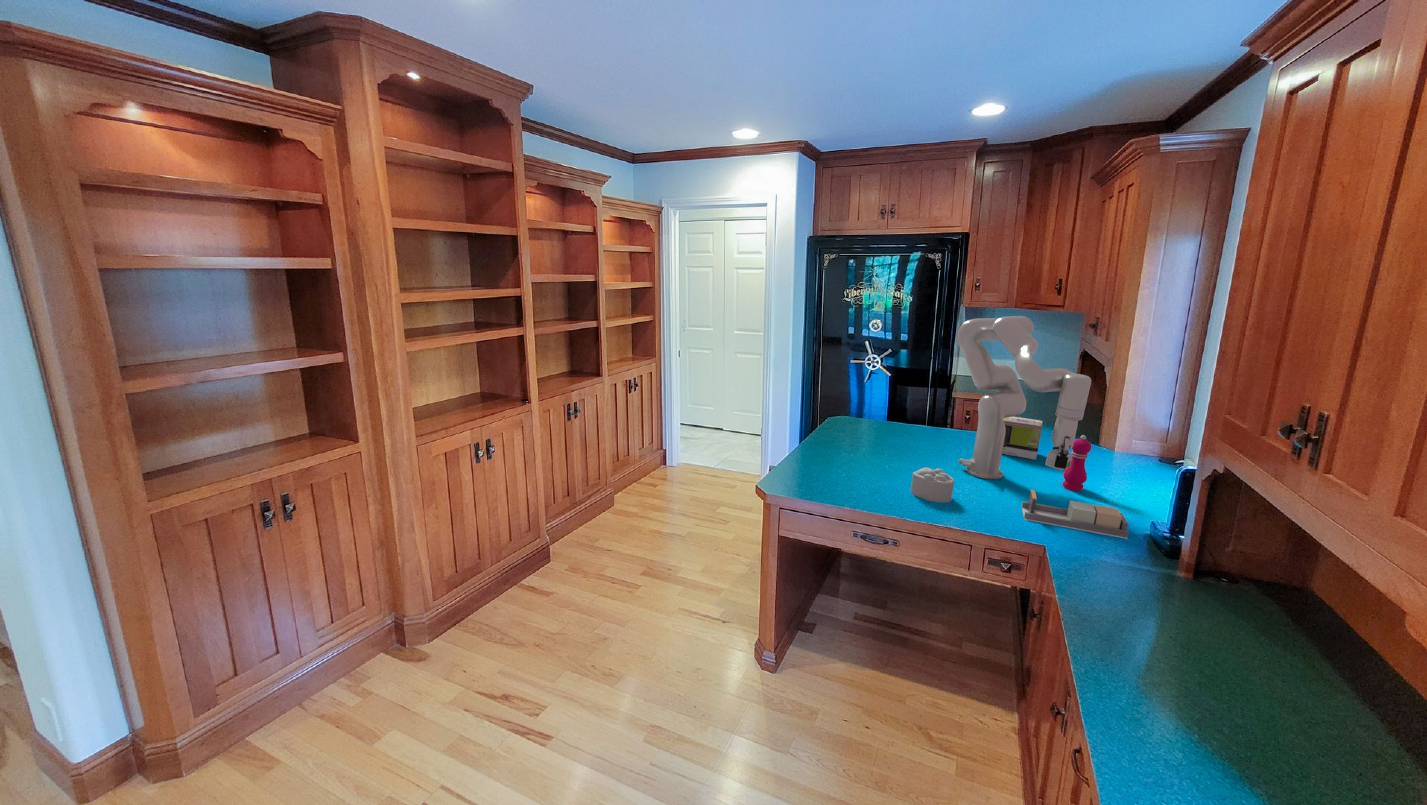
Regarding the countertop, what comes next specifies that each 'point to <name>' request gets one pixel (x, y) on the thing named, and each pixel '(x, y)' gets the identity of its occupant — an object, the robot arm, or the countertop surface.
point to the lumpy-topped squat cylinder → (932, 485)
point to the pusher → (1032, 502)
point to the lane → (1060, 519)
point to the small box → (1052, 457)
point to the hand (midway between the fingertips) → (1058, 462)
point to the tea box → (1022, 437)
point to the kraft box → (1107, 517)
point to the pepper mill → (1077, 465)
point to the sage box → (1081, 512)
